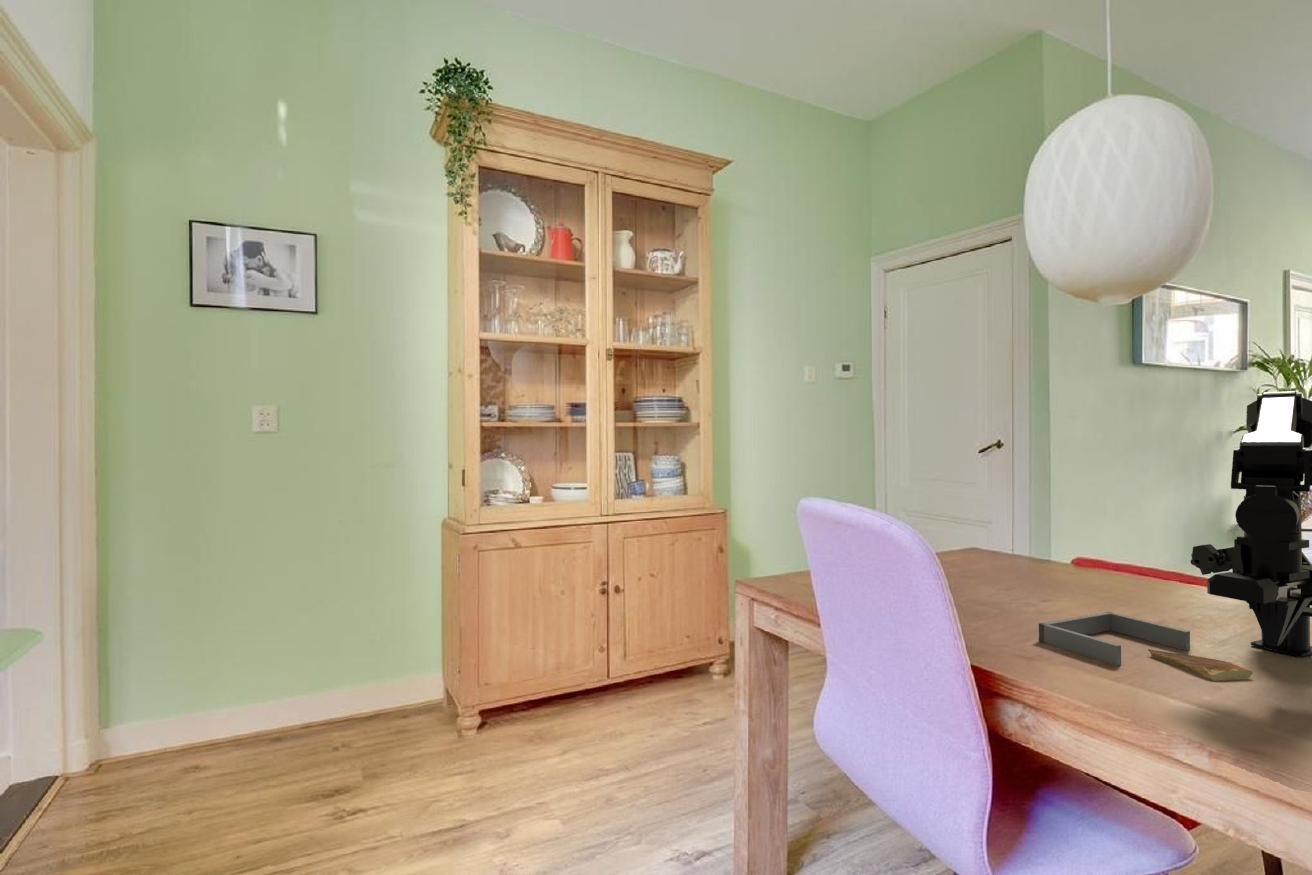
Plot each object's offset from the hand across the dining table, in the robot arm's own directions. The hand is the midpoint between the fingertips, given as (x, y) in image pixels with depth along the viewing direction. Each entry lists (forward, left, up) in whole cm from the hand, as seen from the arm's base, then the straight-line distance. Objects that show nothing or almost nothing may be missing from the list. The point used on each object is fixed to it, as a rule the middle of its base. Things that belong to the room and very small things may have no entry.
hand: (1273, 644), depth 88 cm
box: (0, -21, -6) cm, 22 cm away
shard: (0, -9, -7) cm, 11 cm away
